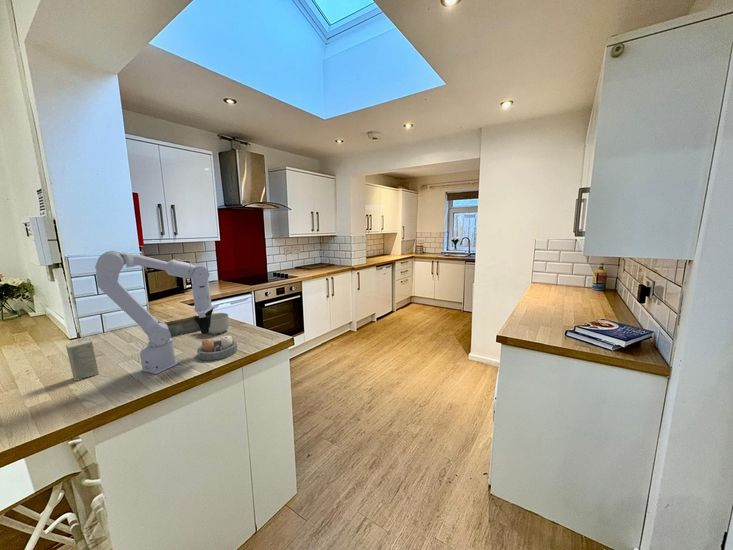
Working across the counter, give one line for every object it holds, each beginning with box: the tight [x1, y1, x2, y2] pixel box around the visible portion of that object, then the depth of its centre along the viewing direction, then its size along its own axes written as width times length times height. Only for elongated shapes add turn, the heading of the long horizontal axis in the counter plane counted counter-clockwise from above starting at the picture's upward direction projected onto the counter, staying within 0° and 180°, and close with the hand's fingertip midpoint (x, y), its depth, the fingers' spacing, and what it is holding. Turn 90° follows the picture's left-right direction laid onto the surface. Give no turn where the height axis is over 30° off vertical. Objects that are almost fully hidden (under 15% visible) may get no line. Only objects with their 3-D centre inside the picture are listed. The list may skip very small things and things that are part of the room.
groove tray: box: [196, 339, 238, 361], centre depth 117 cm, size 14×14×3 cm
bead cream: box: [220, 335, 233, 350], centre depth 118 cm, size 4×4×5 cm
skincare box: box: [65, 338, 100, 381], centre depth 100 cm, size 6×4×12 cm
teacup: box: [208, 312, 230, 335], centre depth 141 cm, size 14×11×8 cm
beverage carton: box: [164, 315, 201, 338], centre depth 142 cm, size 8×19×7 cm, turn 131°
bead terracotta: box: [201, 338, 215, 352], centre depth 115 cm, size 4×4×5 cm
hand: (206, 330), depth 114 cm, fingers open, 7 cm apart
